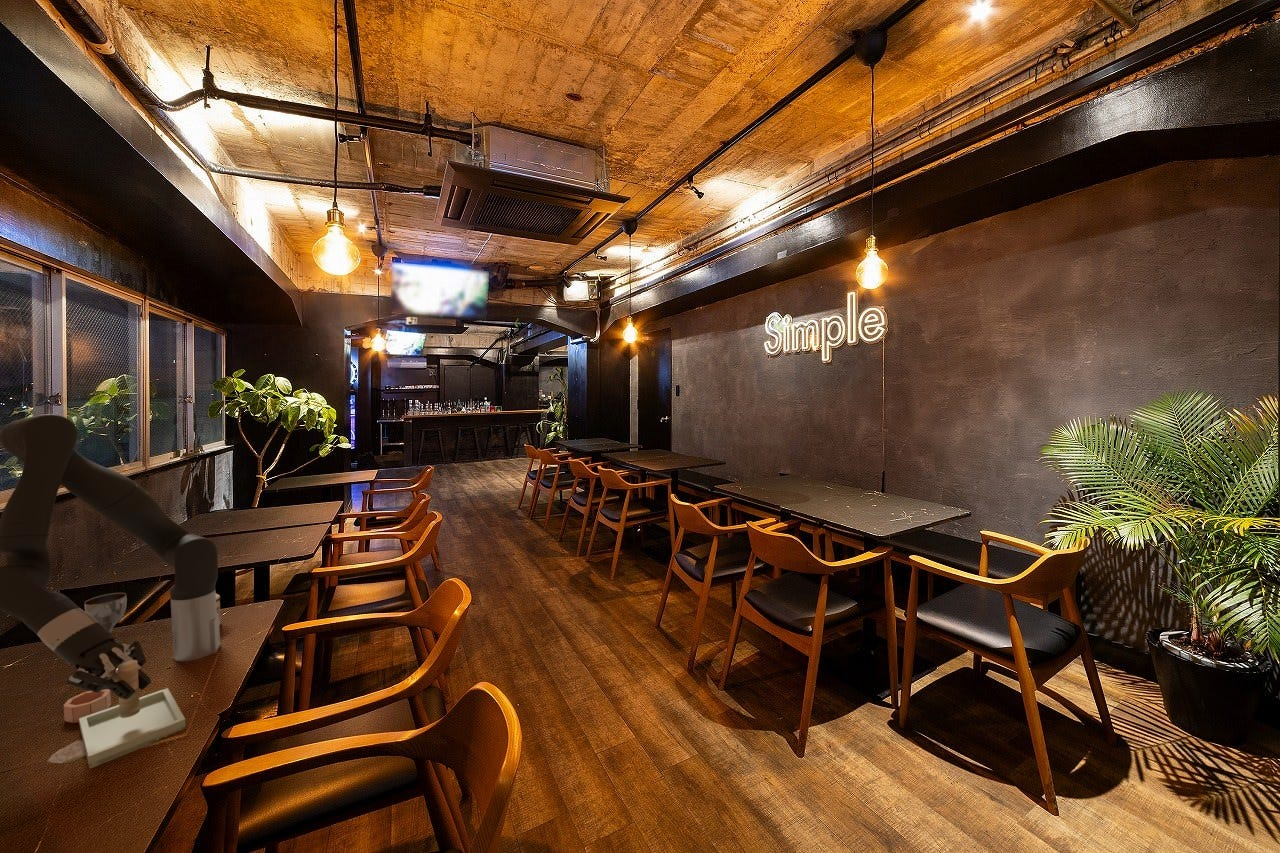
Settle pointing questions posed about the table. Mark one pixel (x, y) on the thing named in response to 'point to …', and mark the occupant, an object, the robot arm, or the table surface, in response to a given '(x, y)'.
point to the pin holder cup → (86, 705)
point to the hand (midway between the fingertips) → (138, 690)
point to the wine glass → (107, 609)
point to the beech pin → (130, 676)
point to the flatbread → (69, 753)
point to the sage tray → (130, 727)
